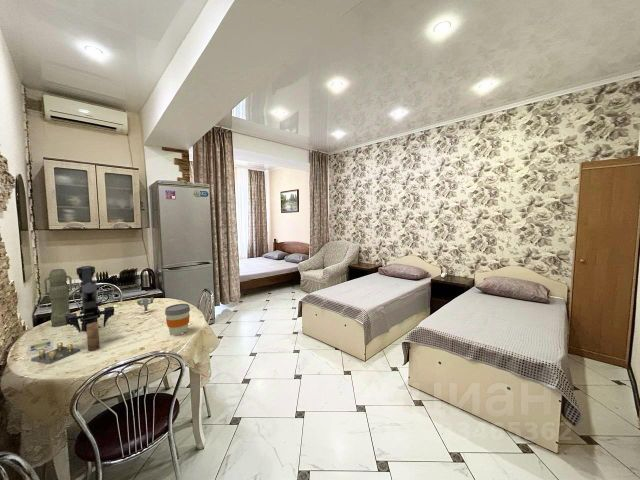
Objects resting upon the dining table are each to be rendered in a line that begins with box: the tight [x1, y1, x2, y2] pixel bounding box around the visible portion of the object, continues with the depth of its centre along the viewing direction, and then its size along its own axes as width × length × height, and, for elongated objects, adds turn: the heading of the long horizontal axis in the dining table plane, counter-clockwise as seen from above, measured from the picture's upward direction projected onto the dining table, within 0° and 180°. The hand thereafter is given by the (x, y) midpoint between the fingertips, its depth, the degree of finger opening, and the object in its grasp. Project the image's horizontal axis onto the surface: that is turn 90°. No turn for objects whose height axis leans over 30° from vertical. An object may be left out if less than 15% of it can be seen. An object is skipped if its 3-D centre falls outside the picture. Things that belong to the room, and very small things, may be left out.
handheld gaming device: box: [25, 339, 54, 356], centre depth 129 cm, size 9×1×15 cm
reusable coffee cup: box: [164, 303, 191, 336], centre depth 146 cm, size 13×13×15 cm
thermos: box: [43, 268, 73, 328], centre depth 159 cm, size 9×12×35 cm
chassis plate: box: [30, 342, 81, 365], centre depth 121 cm, size 12×12×4 cm
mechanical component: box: [136, 297, 155, 312], centre depth 178 cm, size 3×10×10 cm, turn 148°
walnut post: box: [86, 321, 101, 352], centre depth 127 cm, size 4×4×13 cm
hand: (92, 329), depth 128 cm, fingers open, 9 cm apart
